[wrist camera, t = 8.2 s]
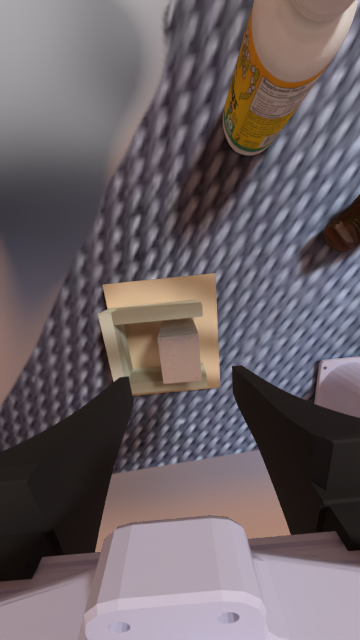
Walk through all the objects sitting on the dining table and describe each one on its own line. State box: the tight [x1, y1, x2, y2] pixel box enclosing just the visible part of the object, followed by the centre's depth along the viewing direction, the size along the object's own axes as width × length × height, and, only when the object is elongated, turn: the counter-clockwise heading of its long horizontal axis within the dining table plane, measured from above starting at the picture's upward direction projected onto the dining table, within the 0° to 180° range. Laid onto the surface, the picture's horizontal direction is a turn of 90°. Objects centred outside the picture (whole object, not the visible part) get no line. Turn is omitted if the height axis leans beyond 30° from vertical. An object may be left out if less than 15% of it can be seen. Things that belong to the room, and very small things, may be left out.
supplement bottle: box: [223, 0, 358, 156], centre depth 11 cm, size 5×5×10 cm
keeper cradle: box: [98, 273, 220, 396], centre depth 19 cm, size 14×12×4 cm
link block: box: [157, 319, 202, 384], centre depth 17 cm, size 4×4×5 cm
